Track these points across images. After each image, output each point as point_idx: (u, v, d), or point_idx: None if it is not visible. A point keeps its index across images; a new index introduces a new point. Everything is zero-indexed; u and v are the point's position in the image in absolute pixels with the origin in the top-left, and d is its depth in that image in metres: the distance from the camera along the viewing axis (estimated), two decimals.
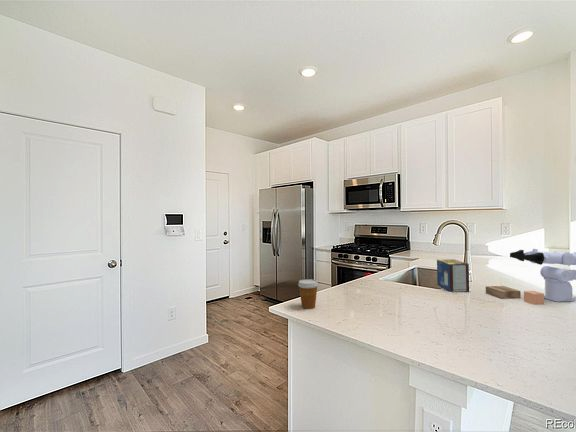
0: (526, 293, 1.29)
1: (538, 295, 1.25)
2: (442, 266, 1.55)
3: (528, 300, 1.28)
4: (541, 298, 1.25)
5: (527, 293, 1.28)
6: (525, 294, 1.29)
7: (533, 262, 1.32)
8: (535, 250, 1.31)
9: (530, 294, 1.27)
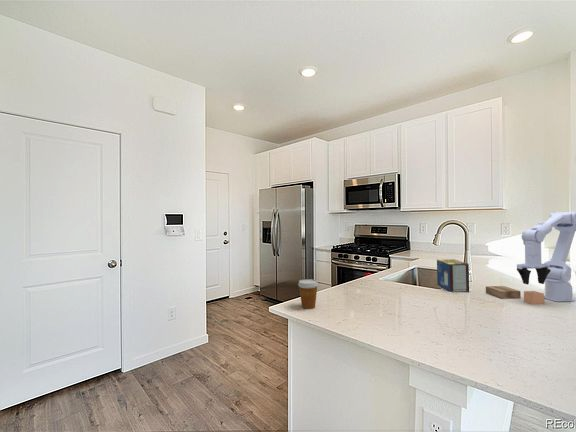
0: (526, 293, 1.29)
1: (538, 295, 1.25)
2: (442, 266, 1.55)
3: (528, 300, 1.28)
4: (541, 298, 1.25)
5: (527, 293, 1.28)
6: (525, 294, 1.29)
7: None
8: (541, 267, 1.24)
9: (530, 294, 1.27)
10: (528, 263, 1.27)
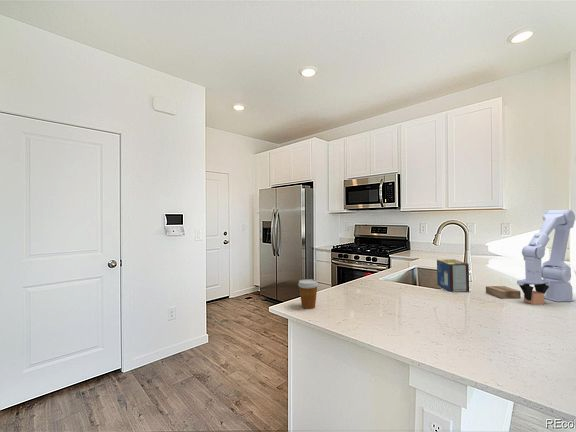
0: None
1: (538, 295, 1.25)
2: (442, 266, 1.55)
3: (528, 300, 1.28)
4: (541, 298, 1.25)
5: None
6: None
7: None
8: (541, 283, 1.24)
9: None
10: (528, 279, 1.27)
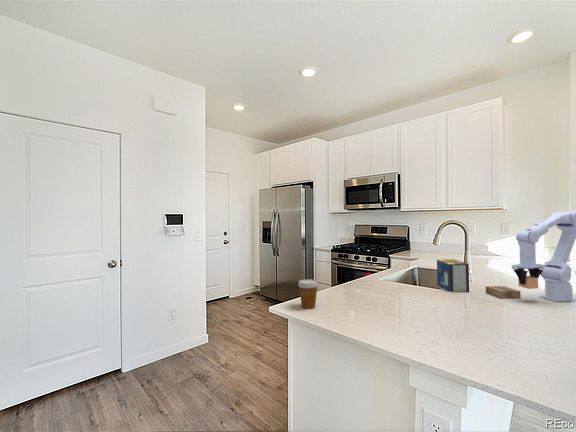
0: None
1: (532, 279, 1.27)
2: (442, 266, 1.55)
3: (522, 284, 1.30)
4: (535, 282, 1.27)
5: None
6: None
7: None
8: (535, 267, 1.26)
9: None
10: (523, 264, 1.29)
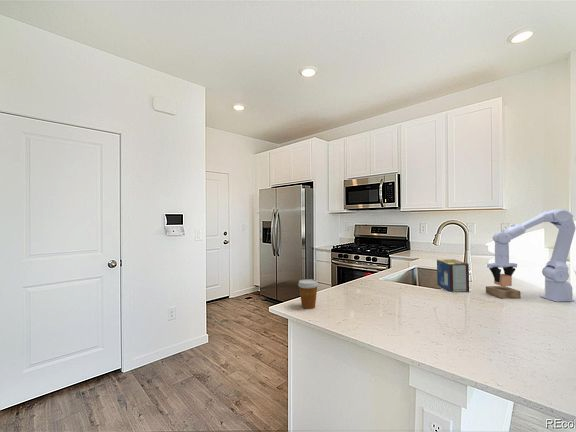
0: None
1: (506, 277, 1.37)
2: (442, 266, 1.55)
3: (497, 282, 1.39)
4: (509, 280, 1.37)
5: None
6: None
7: None
8: (508, 266, 1.36)
9: None
10: (497, 262, 1.39)
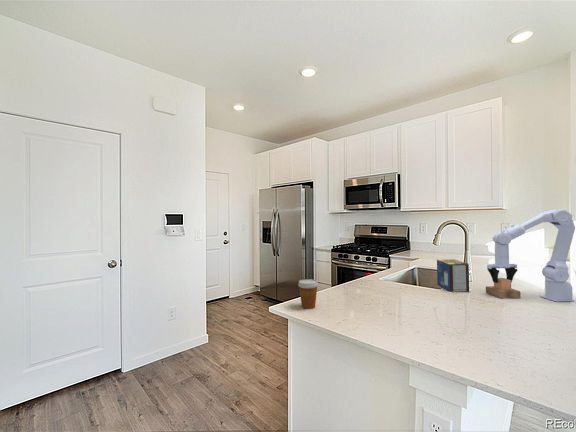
0: None
1: (506, 281, 1.37)
2: (442, 266, 1.55)
3: (497, 286, 1.39)
4: (508, 284, 1.37)
5: None
6: None
7: None
8: (508, 267, 1.36)
9: (499, 280, 1.38)
10: (497, 263, 1.39)
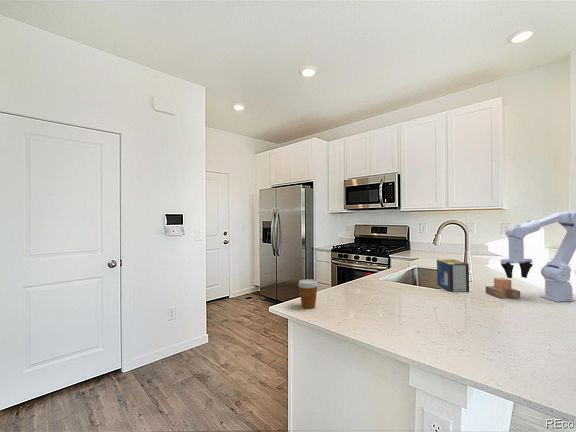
0: (496, 280, 1.41)
1: (506, 281, 1.37)
2: (442, 266, 1.55)
3: (497, 286, 1.40)
4: (509, 284, 1.37)
5: (496, 280, 1.40)
6: (495, 281, 1.41)
7: None
8: (523, 261, 1.31)
9: (499, 280, 1.39)
10: (511, 258, 1.34)
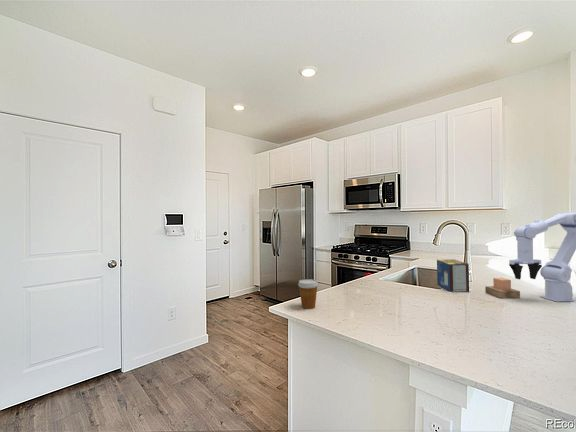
0: (495, 280, 1.41)
1: (505, 281, 1.37)
2: (442, 266, 1.55)
3: (497, 286, 1.40)
4: (508, 284, 1.37)
5: (496, 280, 1.40)
6: (494, 281, 1.41)
7: None
8: (532, 262, 1.28)
9: (499, 280, 1.39)
10: (520, 259, 1.31)
